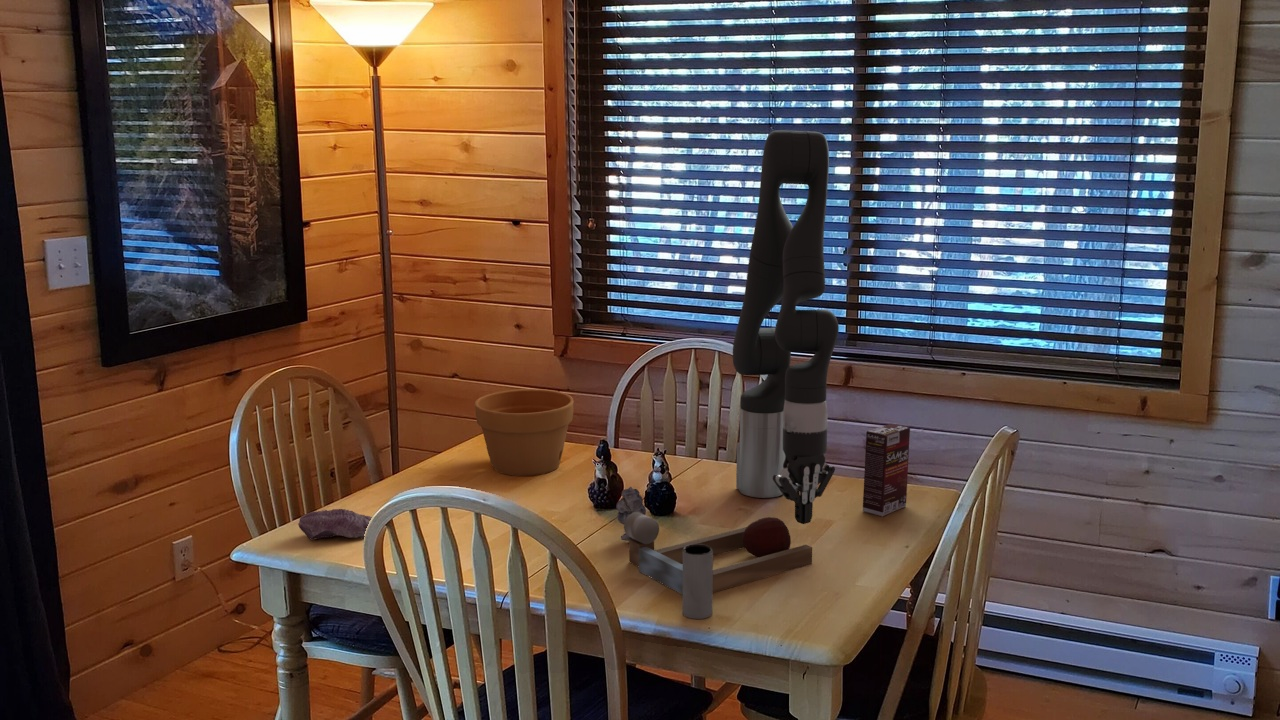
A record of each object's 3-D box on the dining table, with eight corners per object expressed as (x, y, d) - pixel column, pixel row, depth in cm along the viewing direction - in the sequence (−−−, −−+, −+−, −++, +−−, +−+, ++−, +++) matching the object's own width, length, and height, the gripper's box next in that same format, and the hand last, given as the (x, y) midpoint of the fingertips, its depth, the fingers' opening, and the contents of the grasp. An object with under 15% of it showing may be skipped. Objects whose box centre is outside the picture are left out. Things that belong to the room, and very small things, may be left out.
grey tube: (708, 606, 183) (709, 542, 181) (715, 618, 179) (715, 553, 177) (679, 608, 183) (680, 544, 181) (685, 620, 178) (685, 555, 176)
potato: (735, 551, 207) (736, 513, 205) (782, 547, 208) (782, 509, 207) (749, 567, 200) (750, 527, 198) (797, 562, 201) (798, 523, 200)
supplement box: (883, 517, 224) (886, 435, 220) (861, 511, 227) (864, 431, 224) (908, 506, 230) (911, 426, 227) (886, 501, 233) (889, 422, 230)
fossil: (297, 534, 217) (295, 506, 216) (376, 525, 221) (375, 499, 220) (300, 548, 209) (298, 520, 208) (381, 539, 214) (380, 512, 213)
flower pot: (557, 484, 245) (556, 414, 242) (461, 477, 250) (459, 409, 247) (586, 456, 265) (585, 391, 262) (496, 450, 270) (494, 386, 267)
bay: (622, 562, 202) (621, 515, 200) (739, 532, 216) (740, 488, 214) (690, 599, 186) (690, 548, 185) (811, 564, 200) (813, 516, 199)
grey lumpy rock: (633, 547, 209) (632, 492, 207) (611, 540, 212) (610, 486, 210) (653, 540, 212) (653, 486, 210) (632, 533, 216) (631, 480, 214)
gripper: (818, 416, 211) (816, 510, 214) (761, 426, 203) (760, 524, 206) (848, 424, 205) (846, 520, 208) (790, 435, 197) (789, 535, 200)
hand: (803, 522), depth 207 cm, fingers closed
